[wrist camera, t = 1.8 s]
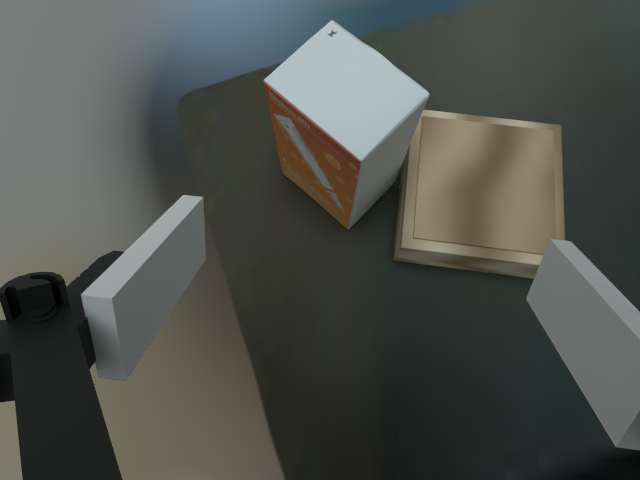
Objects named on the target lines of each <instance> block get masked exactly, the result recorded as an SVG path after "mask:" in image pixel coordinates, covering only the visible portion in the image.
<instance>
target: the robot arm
mask: <svg viewBox="0 0 640 480" xmlns="http://www.w3.org/2000/svg"><path fill="white" fill-rule="evenodd" d="M205 259H206V255H205V231H204V206H203V197H197V196H187V195H183V196H182V197H181V198H180V199H179V200H178V201H177V202H176V203H175V204H174V205H173V206H172V207H170V208H169V209H168V210H167V212H165V213H164V214H163V215H162V216H161V217H160V218H159V219H158V220H157V221H156V222H155V223H154V224H153V225H152V226H151V227H150V228H149V229H148V230H147V231H146V232H145V233H144V234H143V235H142V236H141V237H140V238H139V239H138V240H137V241H135V242H134V243H133V244H132V245H131V246H130V247H129V248H128V249H127V250H126V251H125V252H121V251H112V252H110V253H108V254H106V255H104V256H102V257H100V258H98V259H97V260H96V261H95V262H94V263H93V264H92V265H90V266H89V268H88V269H86V270H85V271H84V272H83V273H81V275H80V277H77V278H76V279H75V280H74V281H73V282H71V284H69V285H68V286H67V287H66V285H65V281H64V279H63V278H62V276H61V275H58V274H56V273H53V272H37V273H29V274H26V275H23V276H19V277H17V278H14V279H13V280H11V281H8V282H7V283H6V284H5V285H3V286H2V287H1V288H0V302H1V305H2V308H3V311H4V314H5V317H6V320H0V402H6V401H13V400H15V406H16V416H17V425H18V436H19V446H20V456H21V466H22V476H23V480H122V477H121V474H120V471H119V467H118V464H117V460H116V457H115V454H114V450H113V447H112V444H111V440H110V437H109V434H108V430H107V427H106V424H105V421H104V417H103V414H102V410H101V407H100V404H99V400H98V397H97V393H96V391H95V387H94V383H93V380H92V377H91V373H90V370H89V369H90V368H91V366H92V365H93V364H94V362H95V363H96V368H97V373H98V377H99V378H105V379H112V380H120V381H126V380H127V379H128V377H129V376H130V374H131V373H132V371H133V370H134V368H135V367H136V365H137V364H138V362H139V361H140V359H141V358H142V356H143V354H144V353H145V351H146V350H147V348H148V346H149V345H150V344H151V342H152V341H153V339H154V338H155V336H156V334H157V333H158V331H159V330H160V328H161V327H162V325H163V324H164V322H165V321H166V319H167V318H168V316H169V315H170V313H171V311H172V310H173V309H174V307H175V305H176V304H177V302H178V301H179V299H180V298H181V296H182V295H183V293H184V292H185V290H186V289H187V287H188V286H189V284H190V282H191V281H192V279H193V278H194V276H195V275H196V273H197V272H198V270H199V269H200V267H201V265H202V264H203V263H204V261H205ZM526 300H527V301H528V303H529V305H530V306H531V308H532V310H533V311H534V313H535V315H536V316H537V318H538V320H539V321H540V323H541V325H542V326H543V328H544V329H545V331H546V333H547V334H548V336H549V338H550V339H551V341H552V343H553V344H554V346H555V348H556V349H557V351H558V353H559V354H560V356H561V357H562V359H563V361H564V362H565V364H566V366H567V367H568V369H569V371H570V372H571V374H572V376H573V377H574V379H575V381H576V382H577V384H578V385H579V387H580V389H581V390H582V392H583V394H584V395H585V397H586V399H587V400H588V402H589V404H590V405H591V407H592V409H593V410H594V412H595V413H596V415H597V417H598V418H599V420H600V422H601V423H602V425H603V427H604V428H605V430H606V432H607V433H608V435H609V437H610V438H611V440H612V441H613V443H614V445H615V446H616V447H619V448H627V449H634V450H640V312H639V311H638V310H637V309H636V308H635V307H634V306H633V305H632V304H631V303H630V302H629V300H628V299H627V298H626V297H625V296H624V295H623V294H622V293H621V292H620V291H619V290H618V289H617V288H616V287H615V286H614V285H613V284H612V283H611V282H610V281H609V280H608V279H607V278H606V277H605V276H604V275H603V274H602V273H601V272H600V271H599V270H598V269H597V268H596V267H595V266H594V265H593V264H592V263H591V262H590V260H589V259H588V258H587V257H586V256H585V255H584V254H583V253H582V252H581V251H580V250H579V249H578V248H577V247H576V246H575V245H574V244H573V243H572V242H571V241H565V240H556V239H550V240H549V242H548V245H547V247H546V250H545V252H544V255H543V258H542V260H541V263H540V265H539V268H538V270H537V273H536V275H535V278H534V280H533V283H532V285H531V288H530V290H529V293H528V295H527V298H526Z"/></svg>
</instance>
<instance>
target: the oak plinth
mask: <svg viewBox="0 0 640 480" xmlns="http://www.w3.org/2000/svg"><path fill="white" fill-rule="evenodd" d="M550 239H556V240H565V227H564V197H563V168H562V138H561V125H555V124H547V123H538V122H529V121H520V120H511V119H502V118H493V117H484V116H475V115H466V114H457V113H448V112H439V111H430V110H423V112H422V114H421V117H420V120H419V122H418V125H417V127H416V130H415V132H414V135H413V137H412V140H411V142H410V145H409V147H408V150H407V153H406V155H405V158H404V160H403V163H402V166H401V174H400V185H399V196H398V207H397V219H396V230H395V241H394V253H393V260H394V261H402V262H409V263H417V264H425V265H432V266H440V267H448V268H456V269H463V270H471V271H479V272H487V273H494V274H502V275H510V276H518V277H525V278H533V279H534V278H535V275H536V273H537V270H538V268H539V265H540V263H541V260H542V258H543V255H544V252H545V250H546V247H547V245H548V242H549V240H550Z"/></svg>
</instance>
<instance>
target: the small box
mask: <svg viewBox="0 0 640 480" xmlns="http://www.w3.org/2000/svg"><path fill="white" fill-rule="evenodd" d="M264 86H265V90H266V95H267V100H268V105H269V110H270V115H271V120H272V125H273V130H274V134H275V139H276V144H277V149H278V154H279V159H280V163H281V168H282V173H283V174H284V175H285V176H286V177H287V178H289V179H290V180H291V181H292V182H294V183H295V184H296V185H297V186H298V187H300V188H301V189H302V190H303V191H304V192H305V193H307V194H308V195H309V196H310V197H311V198H312V199H314V200H315V201H316V202H317V203H318V204H319V205H320V206H322V207H323V208H324V209H325V210H326V211H327V212H328V213H329V214H330V215H332V216H333V217H334V218H335V219H336V220H337V221H338V222H339V223H340V224H342V225H343V226H344V227H345V228H346V229H347V230H349V229H350V228H351V227H352V226H353V225H354V224H355V223H356V222H357V221H358V220H359V219H360V218H361V217H362V216H363V215H364V214H365V213H366V212H367V211H368V210H369V208H370V207H371V206H372V205H373V204H374V203H375V202H376V201H377V200H378V199H379V198H380V197H381V196H382V195H383V194H384V193H385V192H386V191H387V190H388V189H389V188H390V187H391V186H392V185H393V184H394V182H395V180H396V178H397V175H398V173H399V170H400V168H401V166H402V163H403V160H404V158H405V155H406V153H407V150H408V147H409V145H410V142H411V140H412V137H413V135H414V132H415V130H416V127H417V125H418V122H419V120H420V117H421V114H422V112H423V110H424V107H425V105H426V102H427V100H428V98H429V96H430V95H429V93H428V91H427V90H425V89H424V88H423V87H421V86H420V85H419V84H417V83H416V82H415V81H414V80H412V79H411V78H410V77H408V76H407V75H406V74H404V73H403V72H402V71H400V70H399V69H398V68H397V67H395V66H394V65H393V64H392V63H391V62H389V61H388V60H387V59H386V58H385V57H384V56H382V55H381V54H380V53H378V52H377V51H376V50H374V49H372V48H371V47H369V46H368V45H366V44H364V43H363V42H361V41H360V40H359V39H357V38H356V37H355V36H353V35H352V34H351V33H349V32H348V31H346V30H345V29H344V28H342V27H341V26H340V25H338V24H337V23H336V22H334V21H333V20H332V21H330V22H329V23H328V24H327V25H326V26H325V27H323V28H322V29H321V30H320V31H319V32H317V33H316V34H315V35H314V36H313V37H312V38H311V39H309V40H308V41H307V42H306V43H305V44H304V45H303V46H301V47H300V48H299V49H298V50H297V51H296V52H295V53H294V54H292V55H291V56H290V57H289V58H288V59H287V60H286V61H285V62H283V63H282V64H281V65H280V66H279V67H278V68H277V69H276V70H274V71H273V72H272V73H271V74H270V75H269V76H268V77H267V78H265V79H264Z"/></svg>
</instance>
